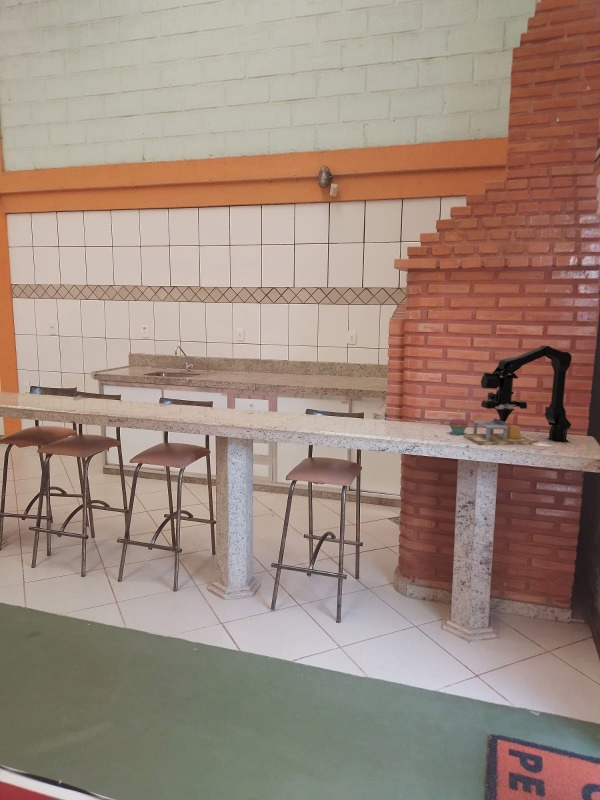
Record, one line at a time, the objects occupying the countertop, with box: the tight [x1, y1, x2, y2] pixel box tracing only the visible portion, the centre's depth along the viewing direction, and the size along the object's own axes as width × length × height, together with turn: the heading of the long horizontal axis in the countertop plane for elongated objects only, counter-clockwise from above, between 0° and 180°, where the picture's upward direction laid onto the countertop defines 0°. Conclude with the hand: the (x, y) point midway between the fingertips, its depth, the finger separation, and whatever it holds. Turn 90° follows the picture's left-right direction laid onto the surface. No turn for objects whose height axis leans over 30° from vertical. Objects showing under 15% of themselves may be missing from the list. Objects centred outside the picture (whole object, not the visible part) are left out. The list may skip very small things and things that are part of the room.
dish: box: [530, 440, 555, 448], centre depth 245 cm, size 9×9×1 cm
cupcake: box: [448, 408, 469, 436], centre depth 265 cm, size 9×8×12 cm
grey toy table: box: [472, 418, 508, 441], centre depth 250 cm, size 9×14×8 cm, turn 8°
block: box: [505, 424, 521, 439], centre depth 252 cm, size 4×4×6 cm
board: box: [462, 432, 539, 446], centre depth 252 cm, size 27×16×2 cm, turn 98°
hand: (502, 423), depth 251 cm, fingers closed
